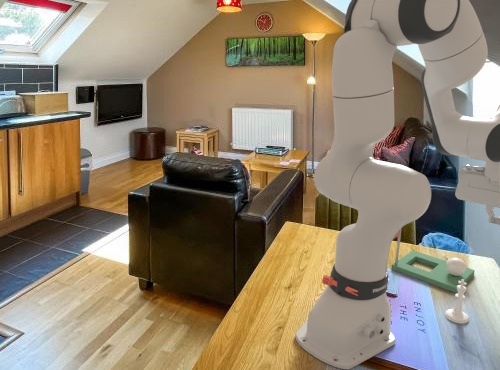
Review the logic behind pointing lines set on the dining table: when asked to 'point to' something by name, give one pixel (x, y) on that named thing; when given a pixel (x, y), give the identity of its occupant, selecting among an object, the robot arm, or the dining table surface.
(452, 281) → the putting mat
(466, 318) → the chess piece
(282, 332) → the dining table surface
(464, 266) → the ball
